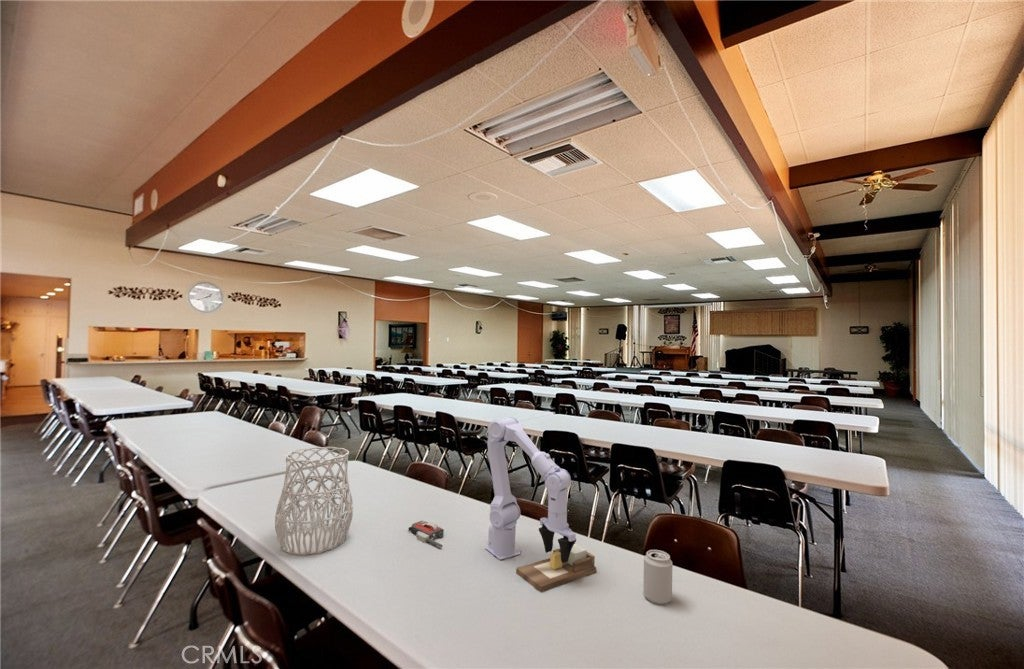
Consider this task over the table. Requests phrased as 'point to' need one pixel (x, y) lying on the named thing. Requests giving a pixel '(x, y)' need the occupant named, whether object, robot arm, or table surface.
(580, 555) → the block
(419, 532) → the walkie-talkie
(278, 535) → the vase
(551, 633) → the table surface
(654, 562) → the can
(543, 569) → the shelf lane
